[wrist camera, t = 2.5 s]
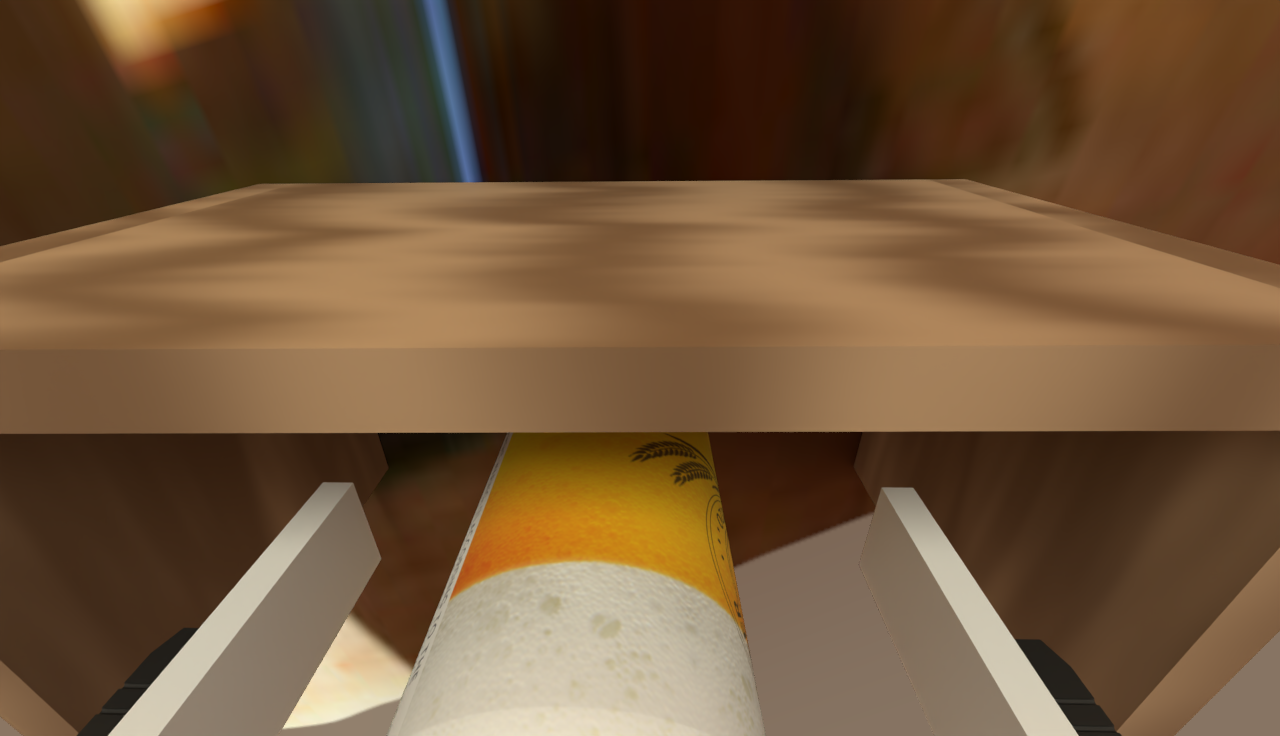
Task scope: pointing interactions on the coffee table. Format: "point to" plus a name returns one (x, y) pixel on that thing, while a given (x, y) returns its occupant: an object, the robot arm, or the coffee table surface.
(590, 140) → the coffee table surface
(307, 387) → the wooden monitor riser
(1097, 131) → the coffee table surface
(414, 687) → the beer can
